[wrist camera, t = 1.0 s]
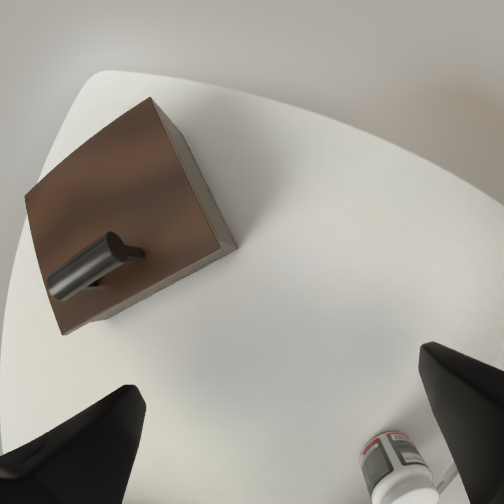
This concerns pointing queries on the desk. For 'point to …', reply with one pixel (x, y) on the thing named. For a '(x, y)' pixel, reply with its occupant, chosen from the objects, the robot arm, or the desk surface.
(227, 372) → the desk surface
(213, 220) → the bin
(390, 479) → the pill bottle
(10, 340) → the desk surface
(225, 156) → the desk surface
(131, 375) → the desk surface
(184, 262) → the bin lid
